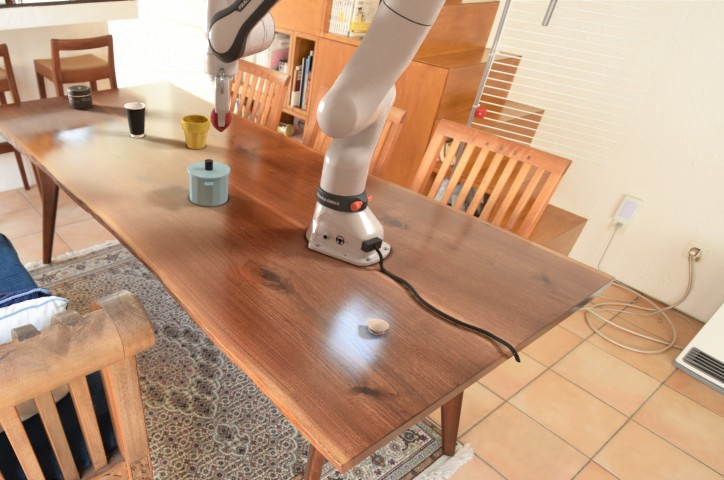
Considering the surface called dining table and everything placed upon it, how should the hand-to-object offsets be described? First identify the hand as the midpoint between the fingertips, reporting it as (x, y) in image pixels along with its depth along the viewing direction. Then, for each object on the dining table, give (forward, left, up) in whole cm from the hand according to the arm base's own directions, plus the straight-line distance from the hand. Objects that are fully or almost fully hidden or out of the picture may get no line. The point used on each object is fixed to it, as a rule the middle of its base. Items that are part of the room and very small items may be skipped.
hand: (221, 121), depth 134 cm
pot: (+3, +2, -22) cm, 23 cm away
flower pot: (+39, -24, -23) cm, 51 cm away
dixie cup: (+62, -14, -23) cm, 67 cm away
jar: (+108, -17, -23) cm, 111 cm away
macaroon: (-67, +18, -23) cm, 73 cm away
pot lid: (+3, +2, -14) cm, 14 cm away
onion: (0, 0, -3) cm, 3 cm away
